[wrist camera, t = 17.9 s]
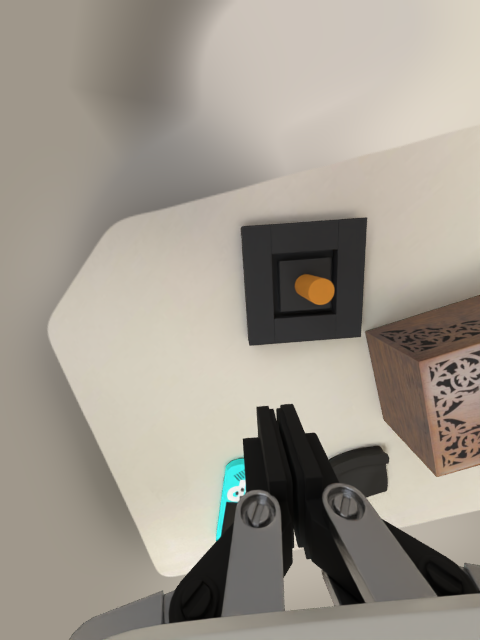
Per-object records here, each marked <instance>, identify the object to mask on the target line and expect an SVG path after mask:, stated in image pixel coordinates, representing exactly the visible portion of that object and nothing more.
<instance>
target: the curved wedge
mask: <svg viewBox="0 0 480 640" xmlns="http://www.w3.org/2000/svg"><path fill="white" fill-rule="evenodd" d="M329 462H330V464H331V466H332V468H333V470H334V472H335V474H336V476H337V479H338V481H339V483H345V484H348V485H351V486H353V487H355V488H356V489H358V490H359V491H361V493H362V494H363V495H364V496H365V497H369V496H372V495H375V494H378V493H381V492H385V491H387V486H388V478H387V471H386V464H388V463H389V457H388V454H386V453H385V452H384V451H383V450H382V449H381V447H379V446H374V447H367V448H361V449H356V450H352V451H348V452H346V453H343V454H340V455H338V456H336V457H334V458H332V459H330V460H329Z"/></svg>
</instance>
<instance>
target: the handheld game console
mask: <svg viewBox="0 0 480 640" xmlns="http://www.w3.org/2000/svg"><path fill="white" fill-rule="evenodd" d="M244 494H246V482H245V466H244V458H241V459H237V460H233V461H231V462H230V463H228V464H227V466H226V469H225V476H224V483H223V490H222V497H221V504H220V511H219V519H218V526H217V533H216V541H217V540H218V539H219V538H220V537H221V536H222V535H223V534H224V532H225V531H226V530H227V529H228V528H229V527H230V526H231V525H232V523H233V522H234V519H235V512H236V507H237V503H238V501H239V500H240V498H241V497H242V496H243V495H244Z"/></svg>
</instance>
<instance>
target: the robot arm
mask: <svg viewBox="0 0 480 640" xmlns="http://www.w3.org/2000/svg"><path fill="white" fill-rule="evenodd" d="M276 412H277V421H276V417H275V413H274V410H273V409H269V407H268V406H261V407H257V424H258V437H257V438H245V439H243V450H244V466H245V482H246V494H244V495H243V496H242V497H241V498H240V500H239V501H238V503H237V507H236V512H235V519H234V522H233V523H232V525H231V526H230V527H229V528H228V529H227V530H226V531H225V532H224V534H223V535H222V536H221V537H220V538H219V539H218V540H217V541H216V542H215V544H214V545H213V546H212V547H211V548H210V549H209V550H208V551H207V553H206V554H205V555H204V556H203V557H202V558H201V559H200V560H199V562H198V563H197V564H196V565H195V566H194V567H193V568H192V569H191V571H190V572H189V573H188V574H187V575H186V576H185V577H184V578H183V580H182V581H181V582H180V584H179V585H178V586H177V588H176V589H175V590H174V591H172V592H169V593H167V594H163V591H160V592H158V593H155V594H152V595H150V596H148V597H145V598H142V599H139V600H137V601H134V602H132V603H129V604H127V605H124V606H121V607H119V608H116V609H113V610H111V611H108V612H106V613H103V614H100V615H98V616H95V617H93V618H91V619H90V620H88V621H86V622H85V623H83V624H82V625H81V626H80V627H79V628H78V629H77V630H76V631H75V632H74V633H73V634H72V636H71V638H70V639H69V640H480V565H475V564H469V563H464V567H460V566H458V565H457V564H455V563H454V562H453V561H451V560H450V559H449V558H447V557H446V556H444V555H442V554H440V553H439V552H437V551H435V550H434V549H432V548H430V547H429V546H427V545H425V544H423V543H422V542H420V541H418V540H417V539H415V538H413V537H412V536H410V535H408V534H407V533H405V532H403V531H401V530H400V529H398V528H396V527H395V526H393V525H391V524H390V523H388V522H386V521H385V520H383V519H381V518H380V516H379V515H378V513H377V512H376V511H375V509H374V508H373V507H372V505H371V504H370V502H369V501H368V500H367V498H366V497H365V496H364V495H363V494H362V493H361V491H359V490H358V489H356V488H355V487H353V486H351V485H348V484H345V483H339V481H338V479H337V476H336V474H335V472H334V470H333V468H332V466H331V464H330V462H329V460H328V458H327V455H326V453H325V451H324V449H323V447H322V445H321V443H320V441H319V439H318V436H317V435H316V433H305V432H304V430H303V427H302V425H301V422H300V420H299V417H298V415H297V413H296V410H295V408H294V405H293V404H285V405H281V406H280V408H277V409H276ZM294 532H295V536H296V540H297V544H298V547H299V548H300V547H304V551H305V555H306V559H311V560H312V562H314V563H315V564H316V565H317V566H318V567H320V568H321V569H322V575H323V579H324V581H325V584H326V586H327V589H328V591H329V594H330V596H331V598H332V601H333V603H334V606H332V607H322V608H311V609H301V610H291V611H285V608H284V607H285V605H284V581H283V578H284V576H285V575H286V573H287V571H288V570H289V568H290V566H291V565H292V562H293V560H292V548H294Z"/></svg>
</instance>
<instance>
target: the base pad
mask: <svg viewBox="0 0 480 640" xmlns="http://www.w3.org/2000/svg"><path fill="white" fill-rule="evenodd" d="M366 227H367V218H353V219H339V220H325V221H311V222H297V223H283V224H271V225H270V224H269V225H255V226H242V227H241V238H242V253H243V268H244V283H245V298H246V313H247V328H248V340H249V345H250V346H251V345H264V344H276V343H289V342H302V341H315V340H327V339H340V338H352V337H361V326H362V306H363V286H364V267H365V247H366ZM324 257H331V280H330V281H331V282H332V284H333V286H334V296H333V298H332V299H331V300H330V308H326V309H313V310H300V311H287V312H281V311H280V310H279V301H278V271H277V261H283V260H297V259H310V258H324Z"/></svg>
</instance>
